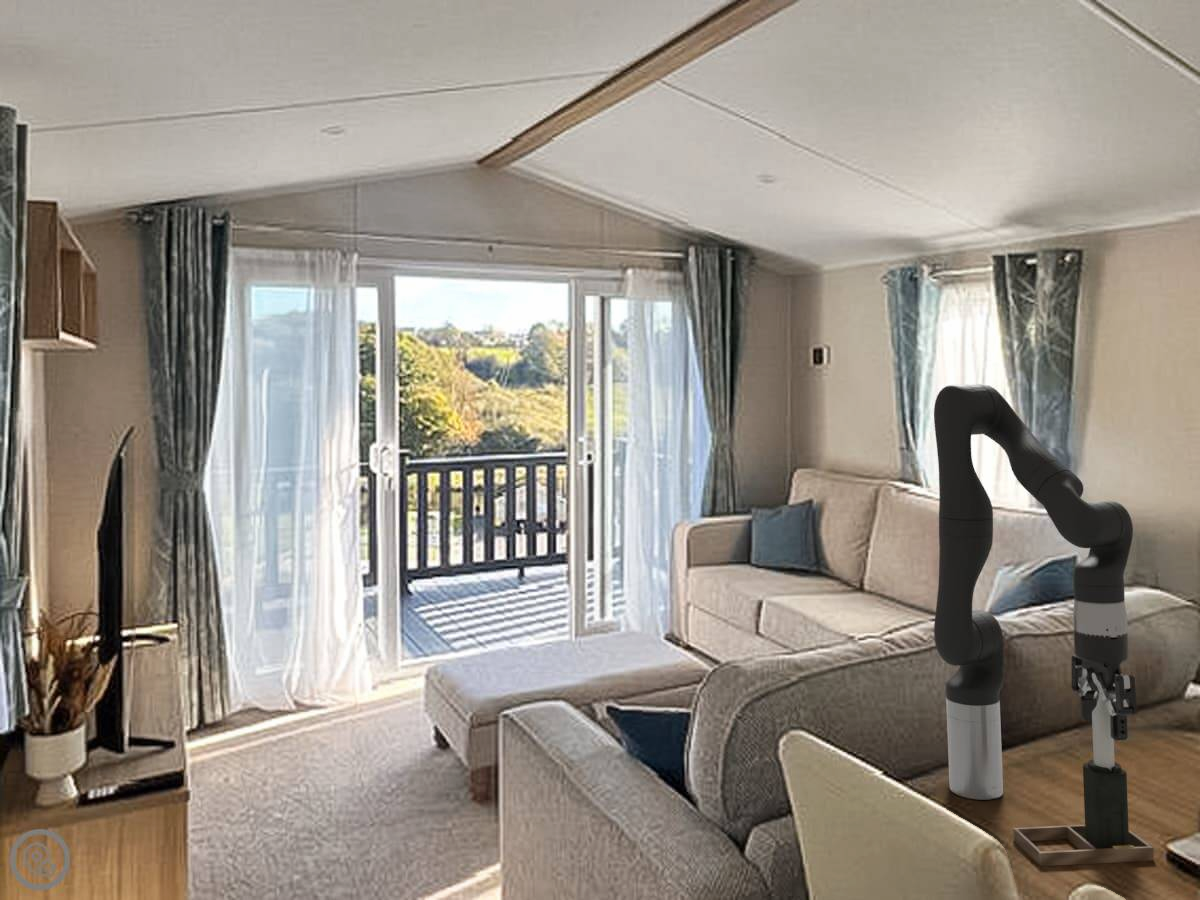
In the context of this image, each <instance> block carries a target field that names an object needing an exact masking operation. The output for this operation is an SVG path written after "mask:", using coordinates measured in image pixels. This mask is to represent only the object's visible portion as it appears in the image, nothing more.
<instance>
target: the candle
mask: <svg viewBox="0 0 1200 900" xmlns="http://www.w3.org/2000/svg"><path fill="white" fill-rule="evenodd" d="M1098 696H1099V697H1098V699H1097V701H1096V707H1095V708H1094V710H1093V711H1092V722H1091V725H1092V726H1091V727H1092V729H1091V730H1092V750H1093V751H1092V752H1093V759H1090V760H1088V761H1087V763H1083V764H1082V776H1083V778H1082V779H1083V781H1082V782H1083V805H1084V806H1083V807H1084V808H1083V809H1084V811H1083V812H1084V825H1085V837H1086V838H1085V840H1086V841H1088V842H1089V843H1090V844H1091V845H1092V846H1094V847H1095V848H1096V849H1104V848H1113V846H1122V845H1130V844H1129V830H1130V829H1129V827H1130V826H1129V807H1128V805H1129V803H1128V802H1129V801H1128V777H1127V771H1126V770H1124V769H1123V768H1122V766H1121V764H1120V763H1118V762H1116V761H1115V740H1114V739H1113V738H1111V727H1110V715H1111V713H1110V710H1109V708H1108V705H1107V703H1106V702H1104V701H1103V700H1102V698H1101V695H1100V694H1099V693H1098Z"/></svg>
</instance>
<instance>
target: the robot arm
mask: <svg viewBox="0 0 1200 900" xmlns="http://www.w3.org/2000/svg"><path fill="white" fill-rule="evenodd" d="M934 401H935V402H934V408H933V417H934V418H933V419H934V423H933V424H934V433H935V442H936V450H937V463H938V482H939V483H938V485H939V486H938V488H939V491H938V492H939V493H938V494H939V503H938V504H939V507H938V508H939V509H938V539H939V542H938V543H939V544H938V545H939V551H938V553H939V557H938V560H939V562H938V565H939V566H938V588H937V597H936V598H937V599H936V607H935V615H934V626H933V635H934V636H933V637H934V638H933V639H934V645H935V647H936V650H937V653H938V654H939V656H940V658H941V659H942V660H943V661H944V662H945V663H947V664H948V665H951V666H959V668H958V669H957V671H956V672H955V674H953V676H951V678H949V679H948V680H947V681H946V683H945V703H946V709H945V710H946V723H947V725H946V729H947V751H948V757H947V758H948V776H949V777H948V779H949V780H948V781H949V789H950V791H951V792H952V793H953V794H955V795H957V796H960V797H962V798H967V799H971V800H980V801H982V800H985V801H987V800H993V799H994V800H995V799H998V798H1000V797H1002V796H1003V794H1004V787H1003V785H1004V781H1003V750H1002V749H1003V748H1002V730H1001V729H1002V728H1001V726H1002V725H1001V704H1000V703H1001V702H1000V693H1001V692H1000V691H1001V689H1002V687H1003V684H1004V679H1005V678H1004V673H1005V672H1004V671H1005V667H1004V666H1005V665H1004V664H1005V644H1004V643H1005V642H1004V640H1005V639H1004V635H1003V634H1004V633H1003V631H1002V627H1001V624H1000V623H999V621H998V620H997V618H996V617H995V616H994V615H993V614H991V613H990V612H988V611H986V610H982V609H981V610H980V609H978V610H977V609H975V610H973V600H974V592H975V587H976V584H977V582H978V580H979V577H980V575H981V573H982V570H983V569H984V566H985V564H986V562H987V560H988V559H989V558H988V557H989V556H990V552H991V550H992V546H993V542H994V541H993V539H994V518H993V517H994V510H993V506H992V505H993V504H992V501H991V499H990V496H989V495H988V493H987V491H986V489H985V487H984V486H983V484H982V481H981V480H980V478H979V476H978V474H977V472H976V470H975V466H974V463H973V457H972V436H973V435H976V436H977V435H984V436H986V437H988V438H989V439H991V440H992V441H994V442H995V443H996V444H998V445H999V446H1000V447H1001V448H1002V449H1003V451H1004V452H1005V454H1006V455H1007V458H1008V461H1009V465H1010V468H1011V471H1012V473H1013V475H1014V477H1015V478H1016V480H1017V482H1018V483H1019V484H1020V485H1021V486H1022V487H1023V489H1025V490H1026V491H1027V492H1028V493H1029V494H1030V495H1031V496H1032V497H1033V498H1034V499H1035V500H1036V501H1038V503H1040V505H1042V506H1043V507H1044V509H1045V511H1046V513H1047V515H1048V516H1049V518H1050V520H1051V521H1052V523H1053V525H1054V526H1055V528H1056V530H1057V531H1058V533H1059V535H1061V537H1062V538H1064V540H1066V541H1067V542H1068V543H1070V544H1072V545H1073V546H1075V547H1078V548H1082V549H1089V552H1088V555H1087V557H1086V558H1085V559H1083V560H1082V561H1081V562H1079V563H1077V565H1075V566H1074V568H1073V598H1074V599H1073V608H1072V609H1073V610H1072V621H1073V622H1072V625H1073V646H1074V649H1073V651H1074V654H1073V655H1072V656H1071V688H1072V689H1071V690H1072V691H1073V692H1077V697H1078V698H1079V699H1080V715H1081V716H1080V718H1081V721H1083V722H1084V723H1092V711H1093V710H1094V708H1095V707H1096V705H1097V698H1096V697H1097V695H1099V694H1100V695H1101V698H1102V700H1103V701H1104V702H1106V703H1107V706H1108V708H1109V710H1110V713H1111V715H1110V727H1111V738H1113V739H1114V741H1126V740H1127V739H1128V717H1129V716H1135V715H1136V716H1137V714H1138V705H1137V692H1136V680H1135V679H1136V678H1135V676H1134V675H1133V674H1123V672H1122V668H1121V664H1122V663H1123V662H1126V661H1127V660H1128V659H1129V633H1128V614H1127V609H1126V602H1125V599H1126V598H1125V597H1126V596H1125V582H1124V581H1125V580H1124V575H1125V570H1126V567H1127V563H1128V559H1129V555H1130V550H1131V546H1132V542H1133V534H1134V529H1133V528H1134V527H1133V526H1134V525H1133V522H1132V518H1131V515H1130V513H1129V511H1128V510H1127V509H1126V507H1124V505H1122V504H1121V503H1119V502H1117V501H1112V500H1103V501H1093V502H1087V501H1085V500H1084V499H1082V498H1081V497H1082V495H1083V493H1084V484H1083V482H1082V480H1081V479H1080V478H1079V476H1077V475H1076V474H1075V473H1074V472H1073V471H1072V470H1071V469H1069V467H1067V466H1066V464H1064V463H1063V462H1061V460H1059V459H1058V458H1057V457H1056V456H1054V454H1053V453H1051V452H1050V451H1049V450H1048V449H1047V448H1046V447H1045V446H1044V445H1043V444H1042V443H1041V442H1040V441H1039V440H1038V439H1037V437H1036V436H1035V435H1034V434H1033V433H1032V431H1031V430H1030V429H1029V428H1028V427H1027V426H1026V424H1025V422H1023V420H1022V419H1021V418H1020V417H1019V415H1018V414H1017V413H1016V412H1015V410H1014V409H1013V408H1012V406H1011V405H1010V403H1008V401H1007V400H1006V399H1005V398H1004V396H1003V395H1002V394H1001V393H1000V392H999V391H998V390H997V389H995V388H994V387H992V386H990V385H988V384H981V383H972V384H970V383H969V384H968V383H967V384H966V383H965V384H964V383H963V384H950V385H946V386H945V387H943V388H942V389H941V390H940V391H939V392H938V393H937V396H936V398H935V400H934ZM1079 678H1080V679H1079ZM1127 700H1128V702H1127Z"/></svg>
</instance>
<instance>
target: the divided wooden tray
mask: <svg viewBox="0 0 1200 900" xmlns="http://www.w3.org/2000/svg"><path fill="white" fill-rule="evenodd" d="M1012 833H1013V842H1015V843H1016V844H1017V846H1019V847H1020V848H1021V849H1022V850H1023V851H1024V852H1025V853H1026V854H1027V855H1028V856H1029V857H1030V858H1032V860H1034V862H1036V863H1037V865H1039V866H1040V867H1055V866H1069V865H1073V866H1074V865H1087V864H1089V865H1090V864H1091V865H1094V864H1108V863H1109V864H1110V863H1111V864H1112V863H1113V864H1114V863H1129V862H1130V863H1131V862H1149V861H1151V862H1152V861H1153V862H1154V859H1155V857H1154V856H1155V854H1154V847H1153V846H1152V845H1150V843H1148V842H1147V841H1145V840H1144V839H1142V837H1140V836H1139V835H1137V834H1135V833H1134V832H1133V831H1131V830H1130V829H1129V845H1122V846H1113V848H1104V849H1096V848H1095V847H1094V846H1092V845H1091V844H1090V843H1089V842H1088V841H1086V837H1085V824H1070V825H1066V824H1065V825H1052V826H1051V825H1049V826H1046V825H1045V826H1031V827H1029V826H1027V827H1013V828H1012ZM1051 840H1052V841H1054V840H1056V841H1057V840H1068V841H1069V842H1070V843H1071V844H1072V845H1073V844H1074V845H1073V846H1075V848H1077V849H1065V850H1050V851H1042V850H1041V849H1040V848H1038V847H1037V846H1036V844H1034V843H1033V842H1036V841H1051ZM1032 841H1033V842H1032Z"/></svg>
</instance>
